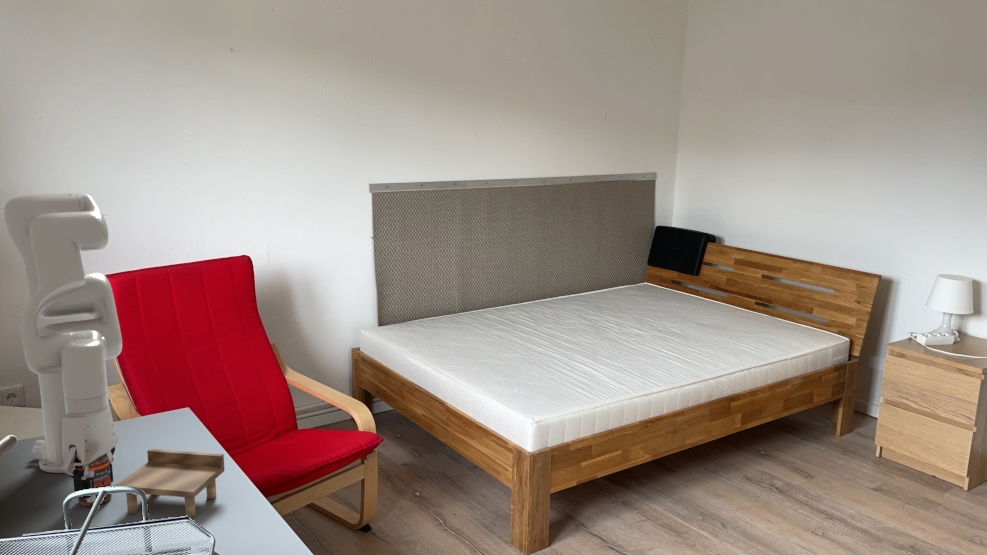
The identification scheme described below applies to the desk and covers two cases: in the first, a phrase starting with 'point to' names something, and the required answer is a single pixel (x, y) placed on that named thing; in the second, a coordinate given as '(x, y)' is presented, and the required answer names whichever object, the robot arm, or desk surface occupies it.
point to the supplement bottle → (97, 478)
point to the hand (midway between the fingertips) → (94, 488)
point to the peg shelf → (175, 477)
